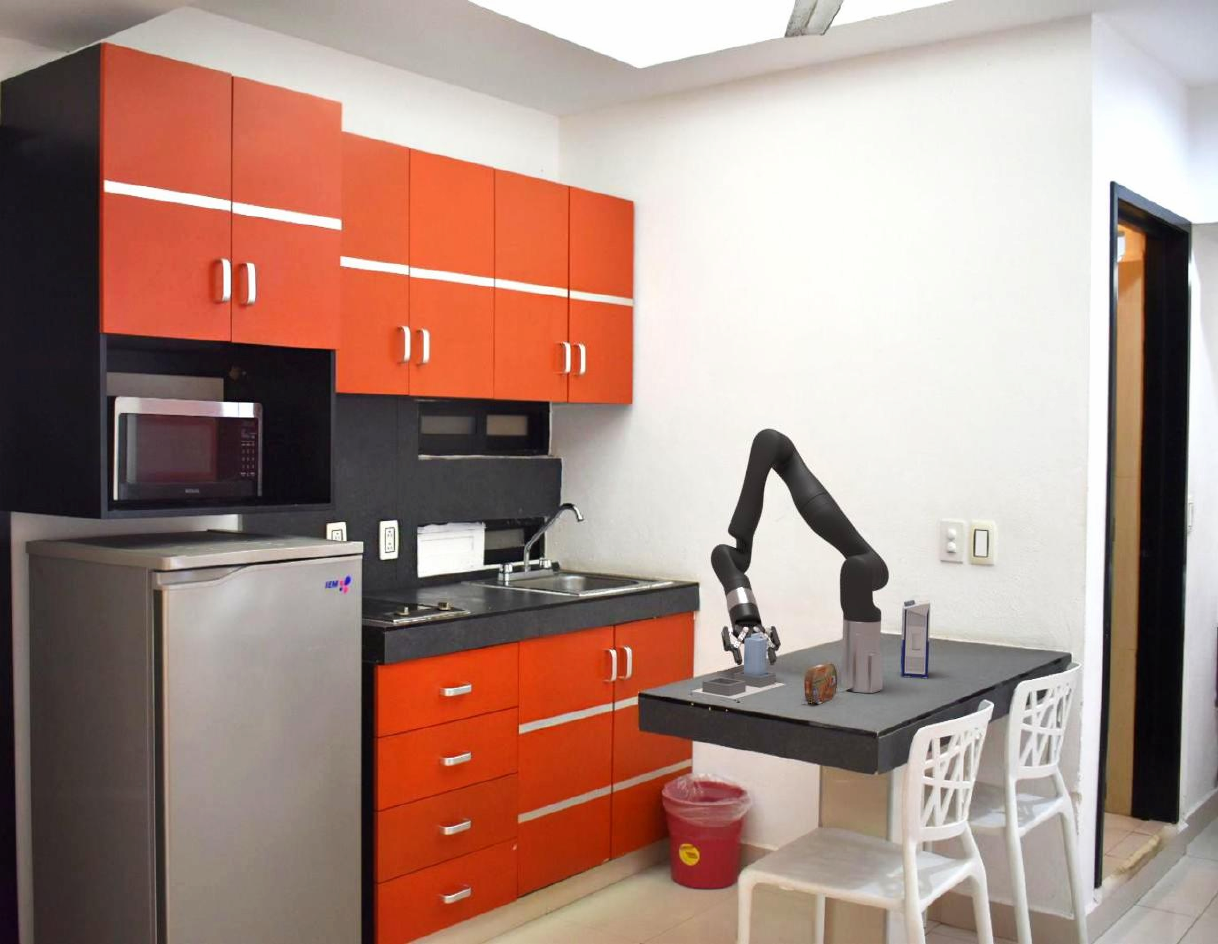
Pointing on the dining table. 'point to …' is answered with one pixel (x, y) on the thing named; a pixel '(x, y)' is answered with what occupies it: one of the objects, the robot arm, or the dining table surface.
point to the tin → (820, 683)
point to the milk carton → (915, 638)
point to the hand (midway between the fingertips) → (756, 663)
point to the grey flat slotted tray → (738, 685)
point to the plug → (755, 655)
